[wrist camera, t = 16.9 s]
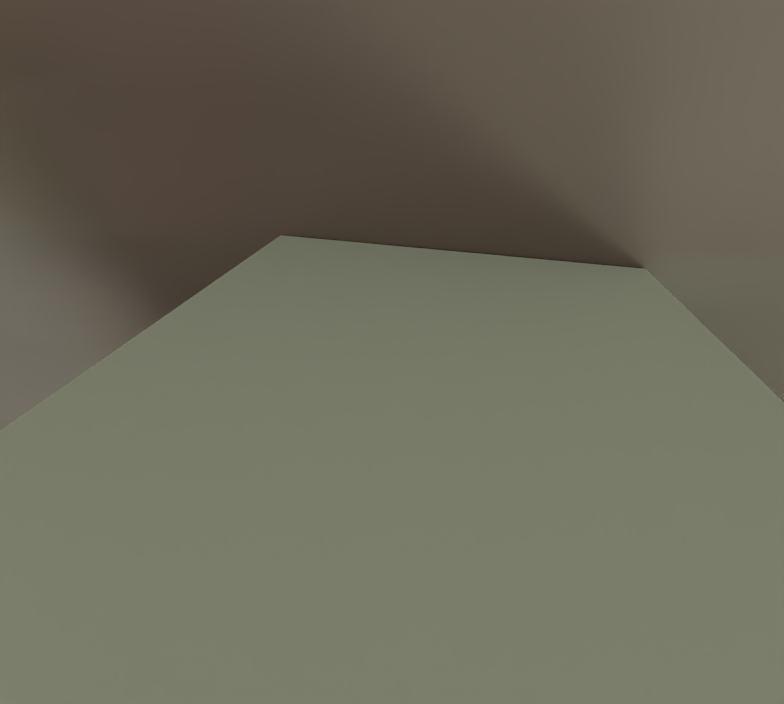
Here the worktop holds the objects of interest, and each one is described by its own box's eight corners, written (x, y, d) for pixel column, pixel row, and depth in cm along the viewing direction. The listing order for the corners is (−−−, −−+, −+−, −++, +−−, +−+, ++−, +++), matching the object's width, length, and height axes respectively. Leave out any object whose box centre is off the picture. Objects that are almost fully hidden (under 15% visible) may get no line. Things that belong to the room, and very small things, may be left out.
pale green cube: (645, 268, 9) (1531, 1128, 1) (558, 526, 13) (681, 1139, 5) (280, 235, 10) (-340, 668, 2) (299, 486, 14) (85, 961, 6)
